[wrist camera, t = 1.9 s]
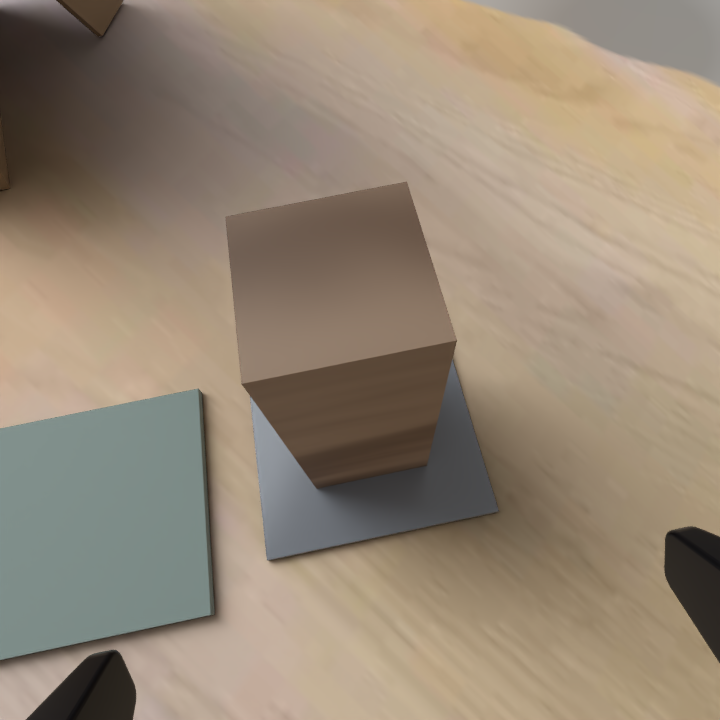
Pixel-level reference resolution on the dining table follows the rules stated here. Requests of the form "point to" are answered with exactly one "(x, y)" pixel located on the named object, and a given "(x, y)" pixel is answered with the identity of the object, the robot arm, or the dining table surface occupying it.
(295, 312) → the walnut block
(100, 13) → the photo frame
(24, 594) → the rubber pad
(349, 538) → the metal tile
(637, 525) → the dining table surface
